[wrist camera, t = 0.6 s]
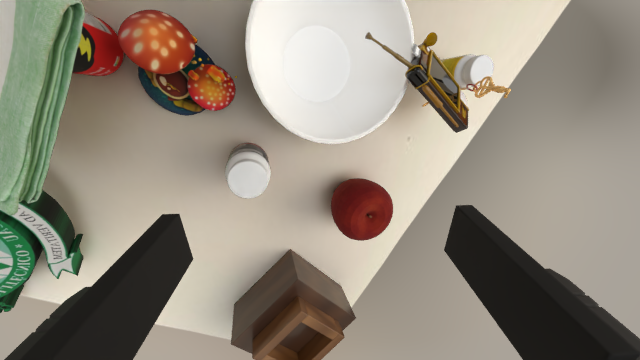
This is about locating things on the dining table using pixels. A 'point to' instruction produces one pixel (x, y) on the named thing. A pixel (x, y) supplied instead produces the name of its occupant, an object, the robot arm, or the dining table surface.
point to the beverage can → (97, 49)
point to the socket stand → (291, 313)
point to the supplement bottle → (469, 69)
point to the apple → (361, 209)
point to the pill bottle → (248, 170)
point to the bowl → (329, 64)
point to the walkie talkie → (440, 83)
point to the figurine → (174, 64)
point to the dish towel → (33, 90)
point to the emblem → (35, 245)
